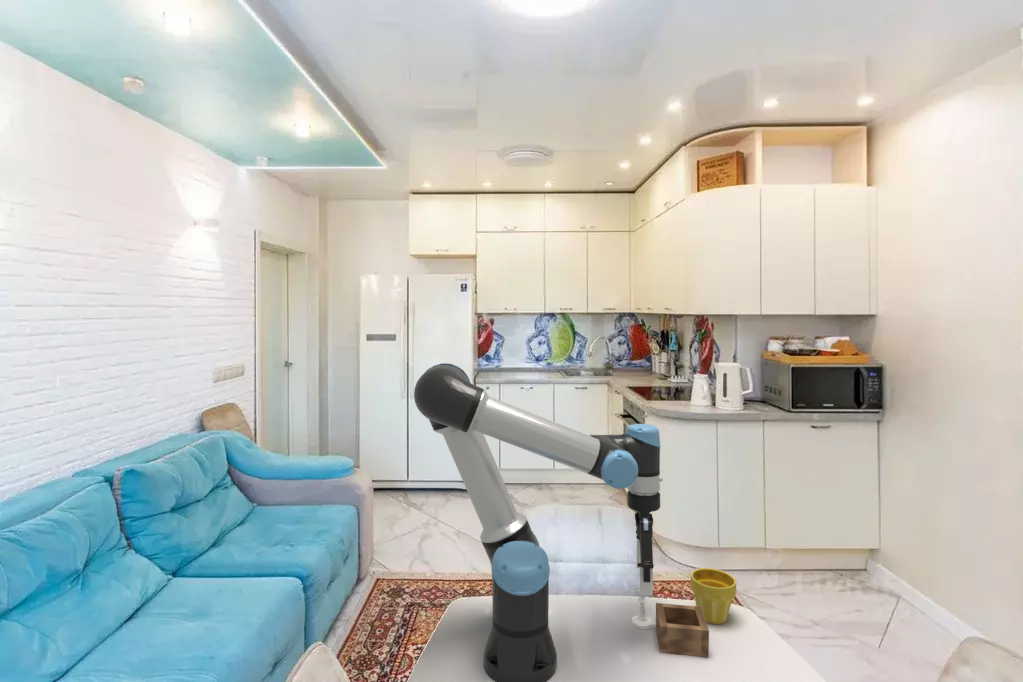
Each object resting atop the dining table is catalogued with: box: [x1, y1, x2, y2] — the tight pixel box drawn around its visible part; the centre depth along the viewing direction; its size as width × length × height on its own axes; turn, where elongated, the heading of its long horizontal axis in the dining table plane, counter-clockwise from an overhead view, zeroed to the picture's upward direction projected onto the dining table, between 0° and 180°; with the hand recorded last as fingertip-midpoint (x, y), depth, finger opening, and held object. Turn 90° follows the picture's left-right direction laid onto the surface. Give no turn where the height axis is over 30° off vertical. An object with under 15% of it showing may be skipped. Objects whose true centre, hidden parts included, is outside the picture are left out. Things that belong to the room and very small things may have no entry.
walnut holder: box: [655, 602, 710, 659], centre depth 120 cm, size 10×10×6 cm
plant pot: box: [690, 567, 737, 625], centre depth 130 cm, size 10×10×10 cm
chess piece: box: [631, 587, 654, 630], centre depth 127 cm, size 5×5×10 cm
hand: (644, 580), depth 127 cm, fingers open, 13 cm apart
